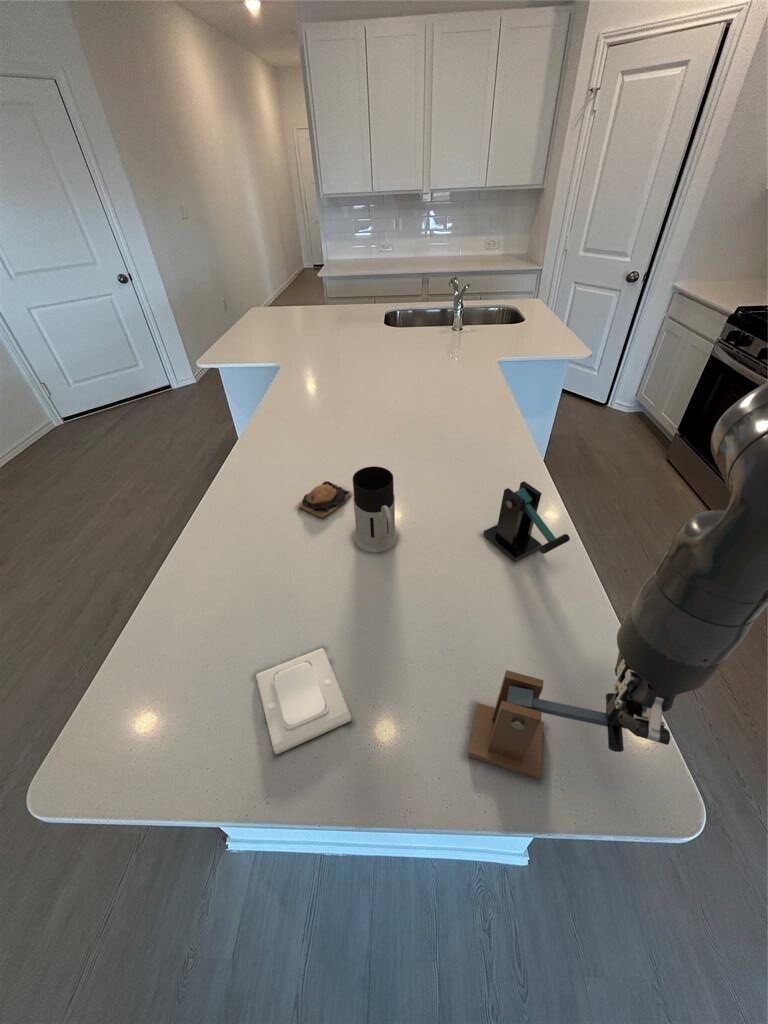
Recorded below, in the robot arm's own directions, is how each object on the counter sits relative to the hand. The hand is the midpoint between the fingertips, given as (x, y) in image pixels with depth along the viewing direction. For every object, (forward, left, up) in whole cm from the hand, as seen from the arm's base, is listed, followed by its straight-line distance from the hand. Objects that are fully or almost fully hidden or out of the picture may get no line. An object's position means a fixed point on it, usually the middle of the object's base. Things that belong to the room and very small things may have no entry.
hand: (615, 718), depth 48 cm
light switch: (+38, +10, -13) cm, 41 cm away
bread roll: (+61, -30, -13) cm, 69 cm away
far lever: (+16, -34, -5) cm, 38 cm away
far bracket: (+20, -36, -13) cm, 43 cm away
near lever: (+5, +1, -3) cm, 6 cm away
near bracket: (+10, +2, -13) cm, 16 cm away
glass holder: (+43, -23, -13) cm, 50 cm away
